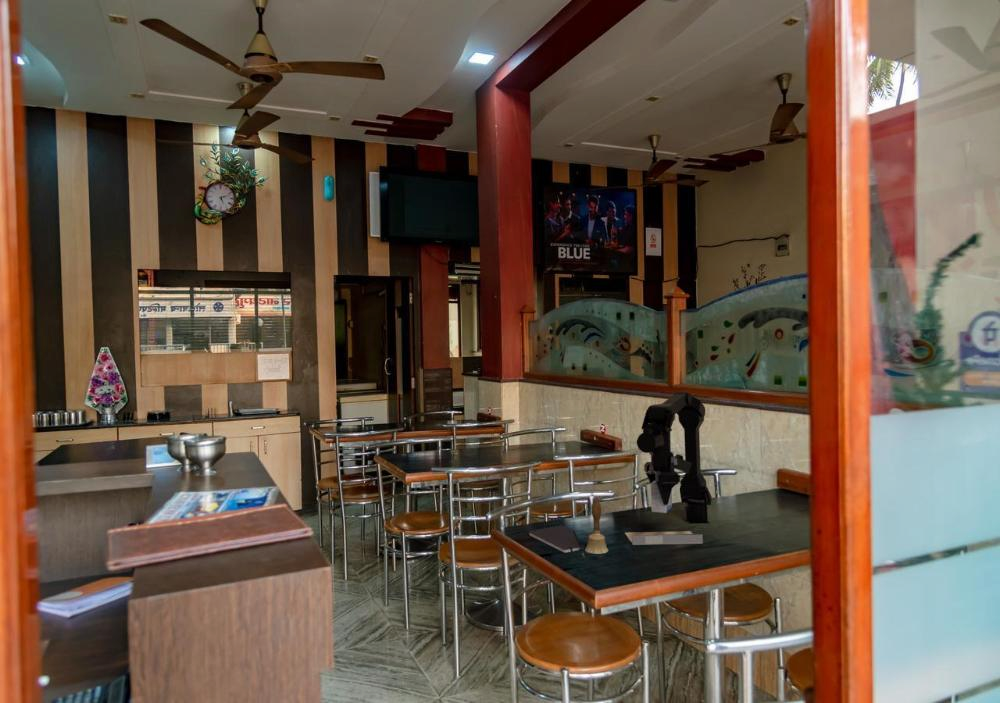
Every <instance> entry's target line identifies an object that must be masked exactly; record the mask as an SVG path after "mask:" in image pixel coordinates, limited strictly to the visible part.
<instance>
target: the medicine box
mask: <svg viewBox="0 0 1000 703" xmlns="http://www.w3.org/2000/svg"><path fill="white" fill-rule="evenodd" d="M655 481H656V480H655ZM655 481H653V482H652V483H651V484H650V505H651V512H652V513H659V514H660V513H661V514H667V513H668V512H669V510H671V509H672V507H673V490H672V491H671V494H670V498H669V502H668V505H664V504H663V501H662V498H661V496H660V493H659V490H658V488H657V485H656V482H655Z"/></svg>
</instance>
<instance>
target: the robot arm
mask: <svg viewBox="0 0 1000 703" xmlns="http://www.w3.org/2000/svg"><path fill="white" fill-rule="evenodd" d="M676 415H677V417H678V423H679V424H680V425H681V426H682V429H683V432H684V433H683V434H684V436H683V437H684V456H683V455H681V454H678V453H677V454H676V455H675V454H674V452H672V451H671V450H672V449H671V432H672V431H673V428H672V426H673V423H674V421H675V418H676ZM705 416H706V407H705V405H704V404H703V402H702V401H701V400H700V399H698V398H697V397H695V396H693V394H692V393H691V392H689V391H677V392H674V393H673V395H672V396H670V397H669V398H668V399H666V400H665V401H664V402H662V403H656V404H651V405H649V406H648V408H647V409H646V411H645V414H644V418H643V422H642V425H641V430H642V432H641V433H640V434H639V435H638V437H637V439H636V445H637V448H638V450H639V451H641V452H643V453H644V454H645V453H646V454H649V455H650V461H646V462H645V463H644V465H643V469H644V470H643V471H644V472H645V475H646V477H647V479H648V482H649V483H650V485H651V483H652V482H653V481H655V480H656V481H655V482H656V485H657V488H658V490H659V493H660V496H661V498H662V501H663V504H664V505H668V502H669V498H670V494H671V491H672V492H673V488H674V487H675V486H676V485H678V484H679V483H680V486H679V494H680V500H681V503H685V506H683V516H684V517H683V518H684V520H685V521H686V522H687V523H688V524H690V525H695V524H696V525H697V524H710V521H709V520H708V506H710V505H712V500H713V499H712V494H711V491H709V488H708V486H707V480H706V478H705V477H704V475H703V474H702V472H701V470H702V469H701V450H700V449H701V447H700V445H701V442H700V440H701V439H700V428H701V427H702V425H703V423H704V422H705ZM674 455H675V456H674ZM675 470H678V471H681V472H684V476H683V477H682V478H681V475H680V474H679V473H678V472H677V471H675Z"/></svg>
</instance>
